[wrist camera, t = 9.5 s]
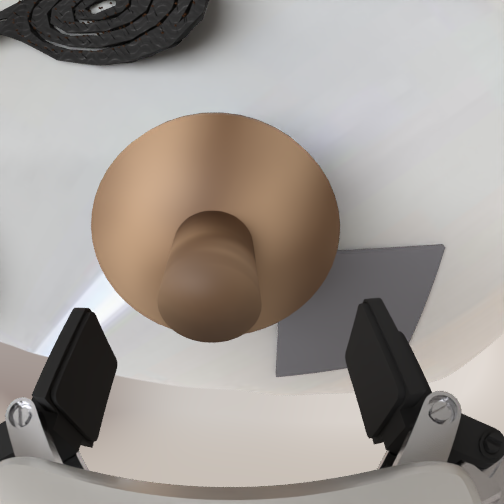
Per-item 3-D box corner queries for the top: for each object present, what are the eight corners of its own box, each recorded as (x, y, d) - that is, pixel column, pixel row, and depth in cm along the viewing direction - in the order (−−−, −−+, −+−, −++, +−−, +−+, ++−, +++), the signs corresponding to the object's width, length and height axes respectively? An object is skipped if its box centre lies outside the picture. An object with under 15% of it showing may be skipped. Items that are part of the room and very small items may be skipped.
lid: (341, 110, 13) (398, 131, 8) (321, 317, 20) (344, 383, 15) (76, 133, 12) (12, 165, 8) (130, 327, 19) (112, 394, 15)
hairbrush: (-65, 8, 5) (224, -66, 8) (-39, 8, 9) (228, -43, 12) (-78, 96, 10) (190, 67, 13) (-51, 88, 13) (200, 69, 16)
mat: (442, 244, 24) (445, 247, 23) (400, 354, 32) (401, 357, 31) (281, 254, 23) (282, 257, 23) (275, 373, 31) (276, 377, 30)
